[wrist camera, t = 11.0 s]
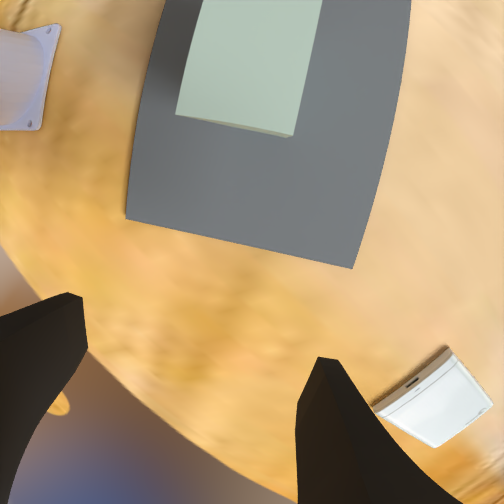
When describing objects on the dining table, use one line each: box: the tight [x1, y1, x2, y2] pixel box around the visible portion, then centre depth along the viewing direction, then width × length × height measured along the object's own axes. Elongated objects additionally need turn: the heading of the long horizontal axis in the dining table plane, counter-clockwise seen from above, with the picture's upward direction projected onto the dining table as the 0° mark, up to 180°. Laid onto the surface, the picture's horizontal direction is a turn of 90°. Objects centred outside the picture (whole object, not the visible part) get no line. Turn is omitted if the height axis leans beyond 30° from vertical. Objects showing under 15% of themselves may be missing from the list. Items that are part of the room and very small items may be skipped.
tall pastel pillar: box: [175, 0, 322, 138], centre depth 10 cm, size 3×6×9 cm, turn 168°
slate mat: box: [126, 0, 411, 269], centre depth 15 cm, size 14×18×1 cm
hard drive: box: [373, 348, 493, 448], centre depth 22 cm, size 2×8×12 cm
